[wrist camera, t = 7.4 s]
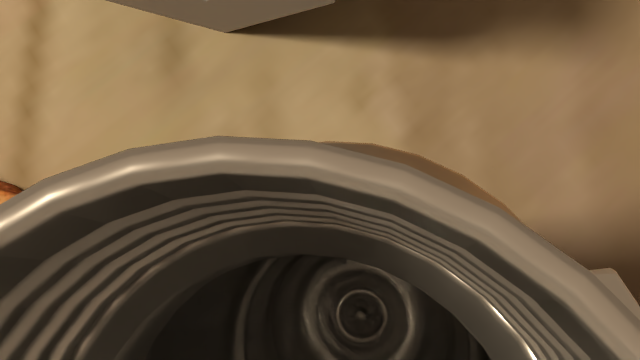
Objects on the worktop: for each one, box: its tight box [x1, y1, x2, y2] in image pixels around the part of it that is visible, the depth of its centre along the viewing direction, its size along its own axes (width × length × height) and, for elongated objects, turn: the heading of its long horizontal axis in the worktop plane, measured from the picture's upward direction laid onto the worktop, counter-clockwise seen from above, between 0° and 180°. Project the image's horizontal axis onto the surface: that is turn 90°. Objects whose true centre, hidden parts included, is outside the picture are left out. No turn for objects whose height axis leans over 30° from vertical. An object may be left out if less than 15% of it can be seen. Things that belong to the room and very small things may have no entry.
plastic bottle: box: [0, 136, 640, 360], centre depth 11 cm, size 6×7×20 cm
